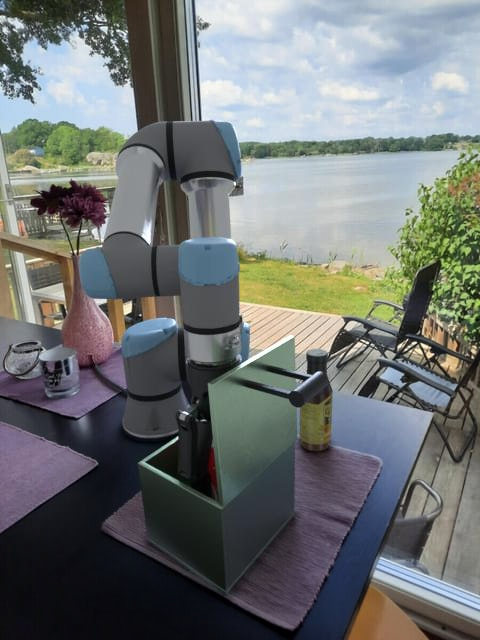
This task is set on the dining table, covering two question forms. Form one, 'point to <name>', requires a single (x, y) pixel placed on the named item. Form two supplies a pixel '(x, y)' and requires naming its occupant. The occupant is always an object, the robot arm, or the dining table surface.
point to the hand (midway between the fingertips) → (221, 494)
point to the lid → (257, 414)
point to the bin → (215, 516)
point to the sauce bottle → (317, 407)
